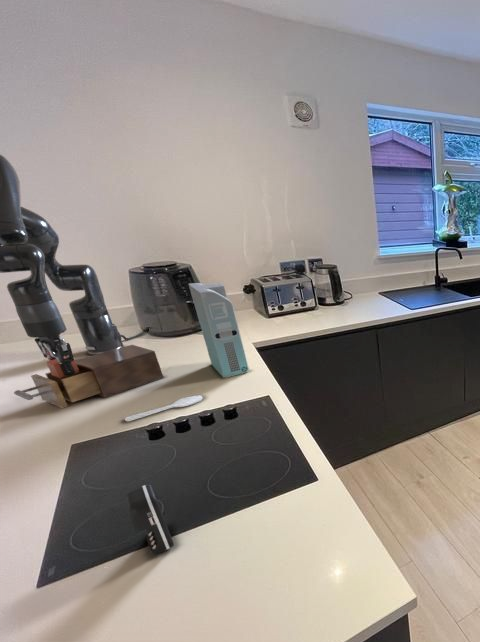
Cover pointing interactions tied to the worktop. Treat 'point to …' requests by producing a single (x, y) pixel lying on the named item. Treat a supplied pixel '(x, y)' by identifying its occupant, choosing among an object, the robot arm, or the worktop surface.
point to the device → (219, 328)
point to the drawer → (63, 387)
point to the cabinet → (122, 368)
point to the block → (59, 368)
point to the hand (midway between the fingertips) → (65, 372)
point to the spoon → (167, 407)
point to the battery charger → (149, 518)
